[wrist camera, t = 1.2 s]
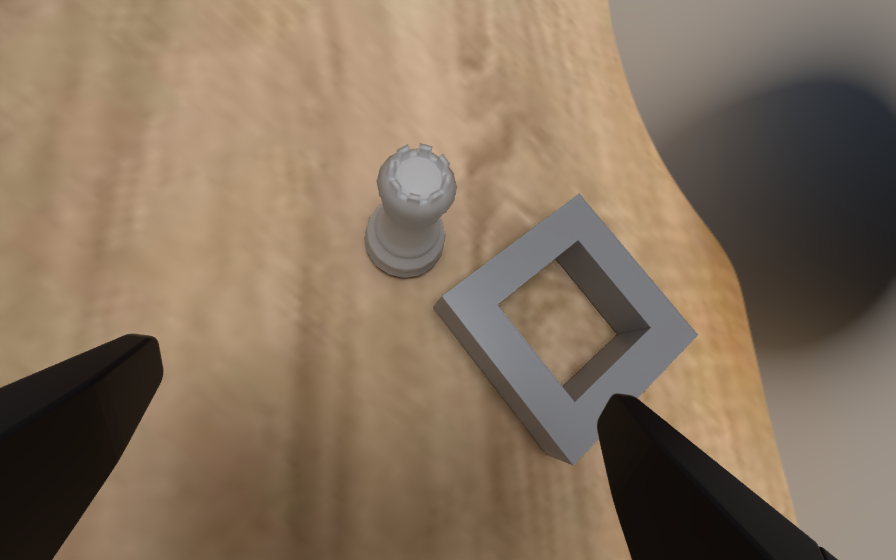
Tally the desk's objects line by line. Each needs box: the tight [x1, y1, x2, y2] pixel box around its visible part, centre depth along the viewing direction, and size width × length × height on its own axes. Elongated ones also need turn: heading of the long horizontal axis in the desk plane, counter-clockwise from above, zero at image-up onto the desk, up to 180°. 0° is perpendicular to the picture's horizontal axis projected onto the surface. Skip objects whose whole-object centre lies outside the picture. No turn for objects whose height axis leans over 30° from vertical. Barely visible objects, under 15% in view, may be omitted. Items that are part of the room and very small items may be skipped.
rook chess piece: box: [365, 143, 457, 278], centre depth 19 cm, size 4×4×8 cm
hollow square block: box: [433, 194, 698, 465], centre depth 22 cm, size 10×10×3 cm
